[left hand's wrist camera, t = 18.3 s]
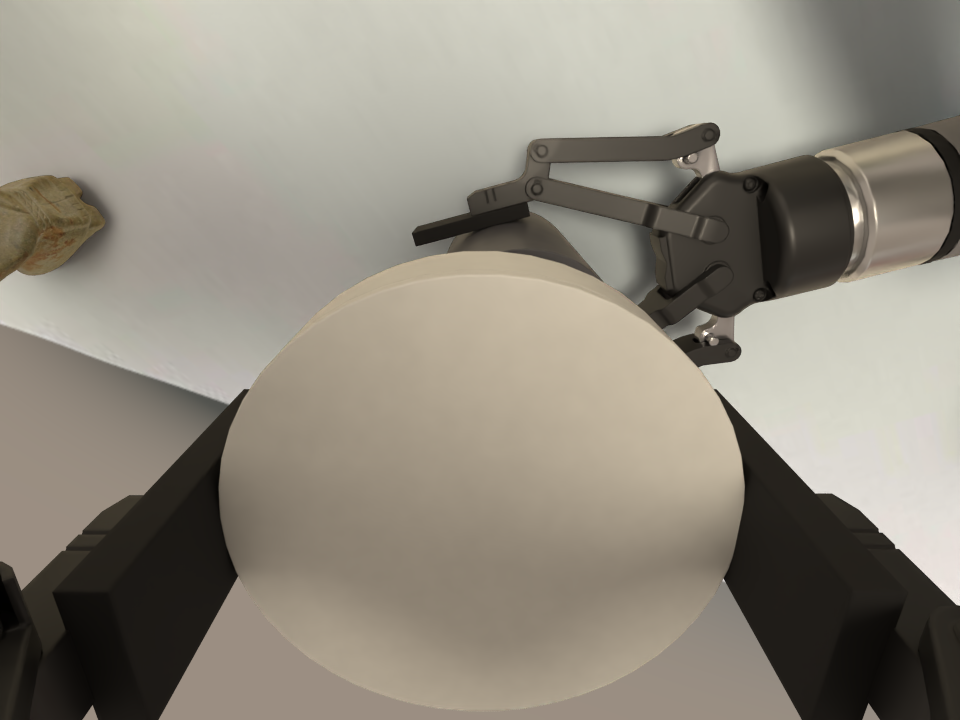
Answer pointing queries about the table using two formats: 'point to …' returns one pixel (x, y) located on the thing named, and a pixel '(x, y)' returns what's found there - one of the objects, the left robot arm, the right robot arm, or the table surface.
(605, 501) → the lid
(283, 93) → the table surface
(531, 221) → the jar
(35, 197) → the sculpture
